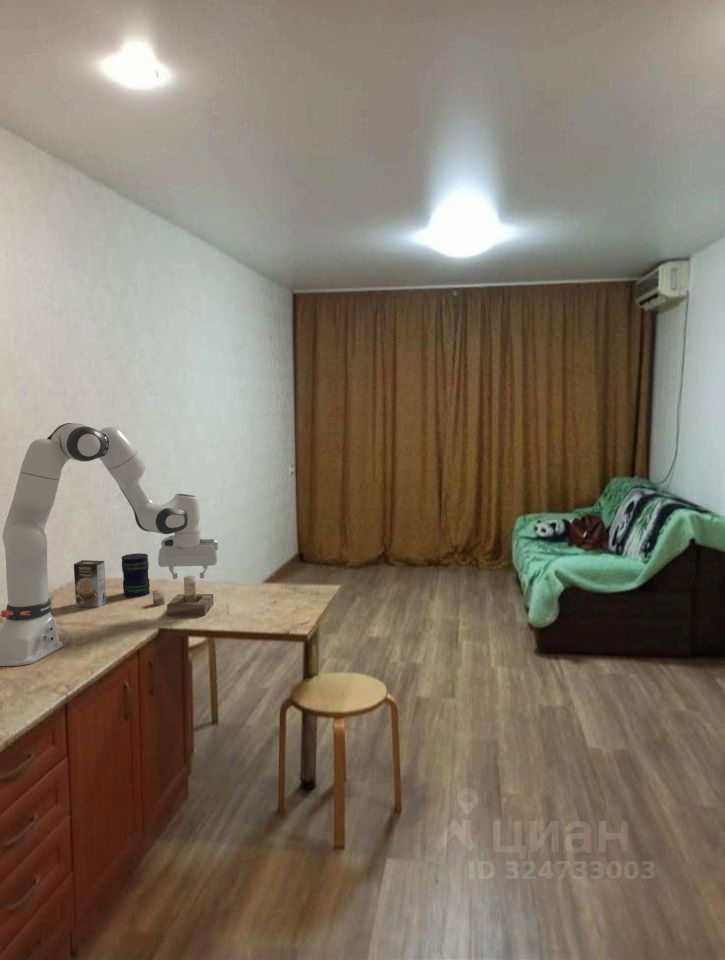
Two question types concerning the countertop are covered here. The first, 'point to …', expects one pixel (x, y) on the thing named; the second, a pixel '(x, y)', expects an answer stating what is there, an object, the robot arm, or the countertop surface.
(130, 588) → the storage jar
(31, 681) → the countertop surface
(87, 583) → the coffee box
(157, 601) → the short pin
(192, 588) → the long pin
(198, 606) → the walnut collar
